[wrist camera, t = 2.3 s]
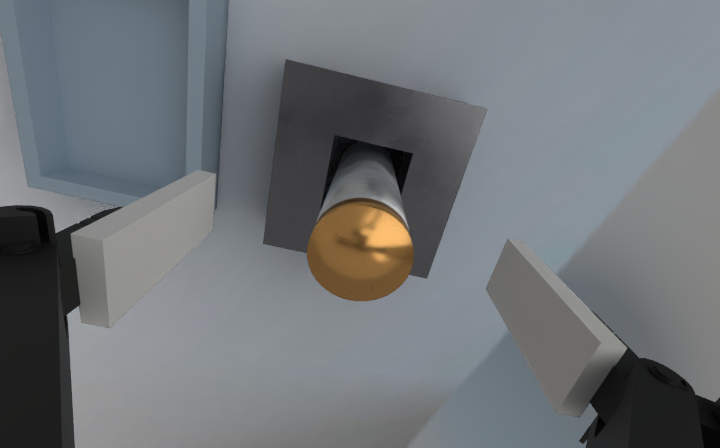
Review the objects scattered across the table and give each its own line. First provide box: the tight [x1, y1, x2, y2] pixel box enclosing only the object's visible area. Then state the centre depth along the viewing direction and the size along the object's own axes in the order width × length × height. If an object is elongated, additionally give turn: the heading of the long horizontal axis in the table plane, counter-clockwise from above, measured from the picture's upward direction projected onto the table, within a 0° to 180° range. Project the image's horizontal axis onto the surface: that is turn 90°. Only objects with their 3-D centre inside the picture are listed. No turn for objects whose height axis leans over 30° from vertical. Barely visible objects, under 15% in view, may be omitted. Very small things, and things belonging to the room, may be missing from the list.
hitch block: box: [263, 60, 487, 278], centre depth 24 cm, size 12×12×4 cm
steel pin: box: [307, 141, 414, 301], centre depth 19 cm, size 4×4×14 cm
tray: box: [0, 0, 228, 210], centre depth 22 cm, size 16×12×3 cm
